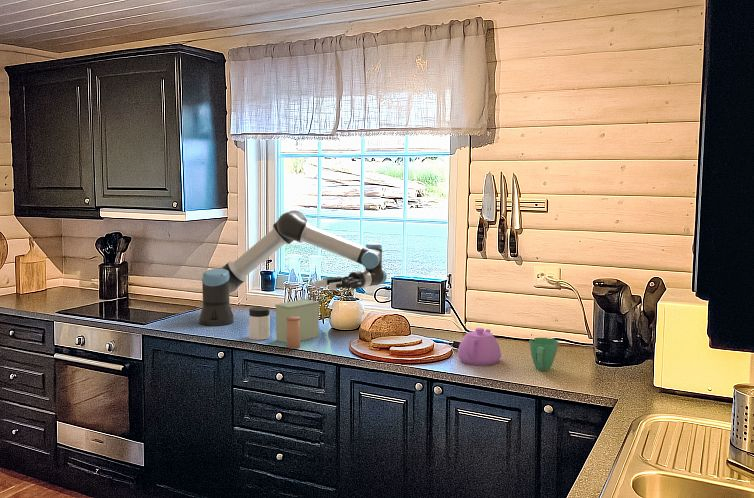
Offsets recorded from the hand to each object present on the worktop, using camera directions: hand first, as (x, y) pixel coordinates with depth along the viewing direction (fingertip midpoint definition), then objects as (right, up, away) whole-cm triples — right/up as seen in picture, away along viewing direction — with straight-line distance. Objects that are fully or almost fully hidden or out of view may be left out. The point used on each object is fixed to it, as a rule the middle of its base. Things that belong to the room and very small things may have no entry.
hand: (322, 285), depth 292 cm
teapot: (+60, -26, -39) cm, 76 cm away
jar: (-25, -21, -8) cm, 34 cm away
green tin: (-10, -21, -8) cm, 25 cm away
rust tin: (-10, -23, -23) cm, 34 cm away
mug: (+80, -27, -51) cm, 99 cm away
